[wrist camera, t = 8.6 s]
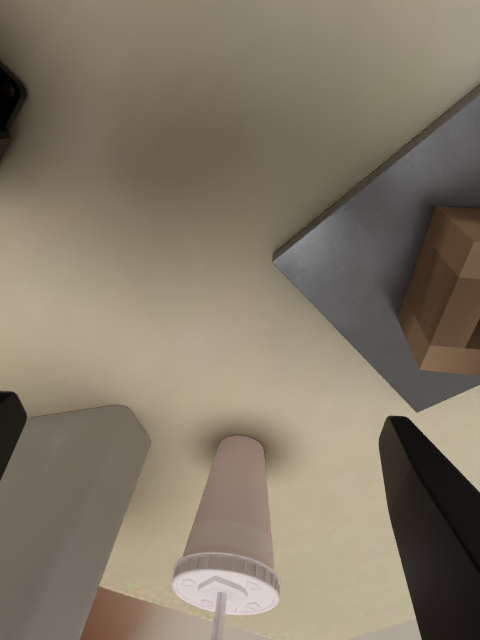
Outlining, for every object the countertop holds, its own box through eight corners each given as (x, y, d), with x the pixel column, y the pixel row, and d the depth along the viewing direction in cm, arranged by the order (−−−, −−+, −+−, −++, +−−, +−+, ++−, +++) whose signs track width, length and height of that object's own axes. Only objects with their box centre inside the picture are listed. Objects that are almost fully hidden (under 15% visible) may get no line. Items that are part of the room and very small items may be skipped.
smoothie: (276, 421, 26) (270, 695, 14) (285, 473, 29) (287, 726, 18) (192, 425, 27) (126, 680, 16) (211, 474, 30) (167, 713, 19)
